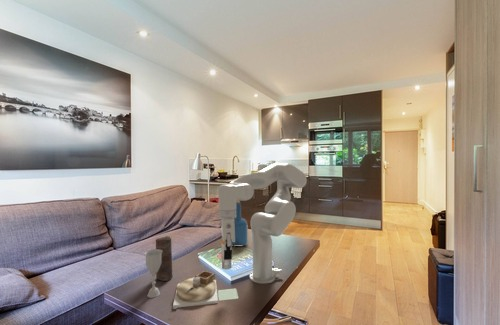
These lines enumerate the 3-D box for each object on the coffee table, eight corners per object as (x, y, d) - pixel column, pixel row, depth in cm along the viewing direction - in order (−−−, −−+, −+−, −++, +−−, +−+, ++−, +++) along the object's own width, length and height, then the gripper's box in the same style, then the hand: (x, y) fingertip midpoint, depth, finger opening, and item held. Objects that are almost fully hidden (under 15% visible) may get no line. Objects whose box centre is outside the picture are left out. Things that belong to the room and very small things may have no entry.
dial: (197, 305, 90) (197, 292, 90) (168, 294, 98) (168, 282, 98) (223, 286, 104) (223, 274, 104) (196, 277, 112) (196, 267, 112)
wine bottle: (251, 243, 166) (251, 200, 167) (240, 248, 155) (240, 203, 155) (235, 240, 174) (235, 199, 174) (224, 245, 162) (224, 201, 163)
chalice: (165, 289, 105) (164, 249, 105) (159, 298, 98) (159, 254, 98) (148, 290, 104) (148, 249, 105) (141, 299, 98) (141, 255, 98)
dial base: (215, 283, 110) (215, 279, 110) (217, 304, 94) (217, 300, 94) (178, 286, 107) (178, 283, 107) (173, 309, 91) (173, 305, 91)
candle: (154, 283, 111) (154, 240, 111) (156, 276, 118) (156, 235, 118) (172, 281, 113) (172, 238, 113) (172, 274, 120) (172, 234, 120)
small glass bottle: (229, 264, 103) (228, 236, 103) (233, 268, 99) (232, 239, 99) (220, 266, 101) (219, 238, 101) (224, 270, 97) (223, 241, 97)
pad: (236, 289, 105) (236, 288, 105) (238, 299, 97) (238, 298, 97) (217, 291, 103) (217, 290, 103) (218, 301, 95) (218, 300, 95)
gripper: (239, 217, 93) (239, 264, 93) (233, 209, 109) (233, 249, 109) (219, 218, 91) (219, 266, 91) (217, 210, 108) (217, 250, 108)
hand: (227, 256), depth 100 cm, fingers closed on small glass bottle, 4 cm apart
